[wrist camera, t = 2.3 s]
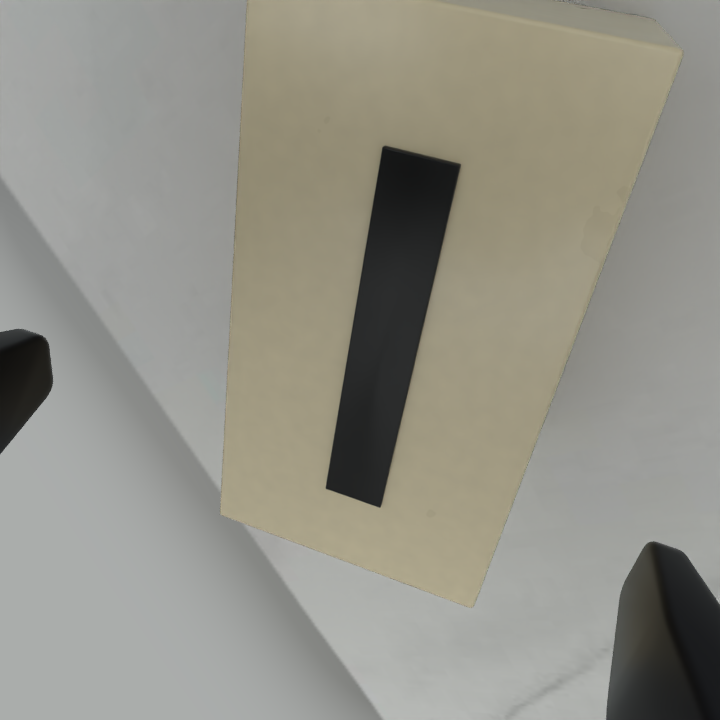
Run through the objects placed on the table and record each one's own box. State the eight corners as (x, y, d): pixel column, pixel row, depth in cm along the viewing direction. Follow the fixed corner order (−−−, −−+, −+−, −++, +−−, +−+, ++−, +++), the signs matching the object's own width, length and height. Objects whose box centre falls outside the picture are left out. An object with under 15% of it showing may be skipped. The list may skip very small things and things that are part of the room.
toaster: (327, 367, 21) (216, 518, 15) (386, -33, 15) (243, -38, 9) (513, 426, 20) (472, 613, 14) (656, 19, 14) (687, 50, 8)
